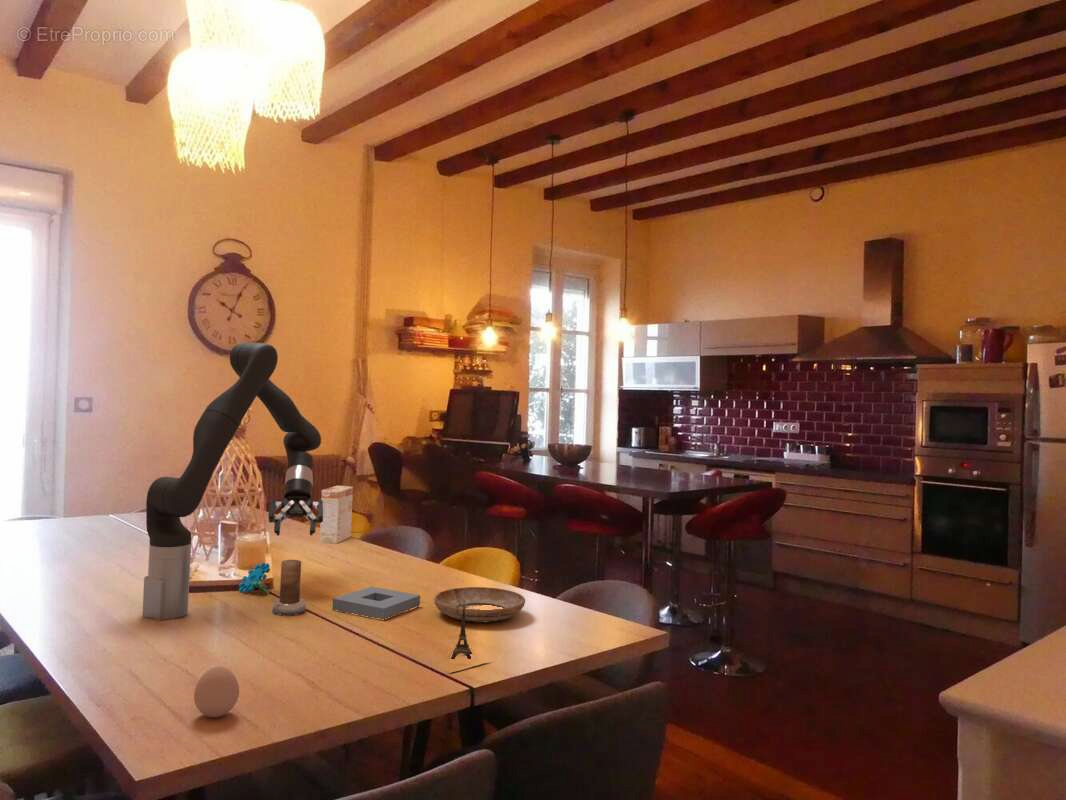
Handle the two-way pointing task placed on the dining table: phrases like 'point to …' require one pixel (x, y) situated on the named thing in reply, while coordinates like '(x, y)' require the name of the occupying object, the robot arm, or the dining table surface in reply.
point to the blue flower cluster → (255, 579)
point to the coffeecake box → (336, 514)
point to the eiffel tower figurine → (462, 647)
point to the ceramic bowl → (479, 603)
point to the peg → (290, 581)
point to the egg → (216, 692)
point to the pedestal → (289, 607)
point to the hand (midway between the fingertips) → (294, 533)
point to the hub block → (376, 602)
